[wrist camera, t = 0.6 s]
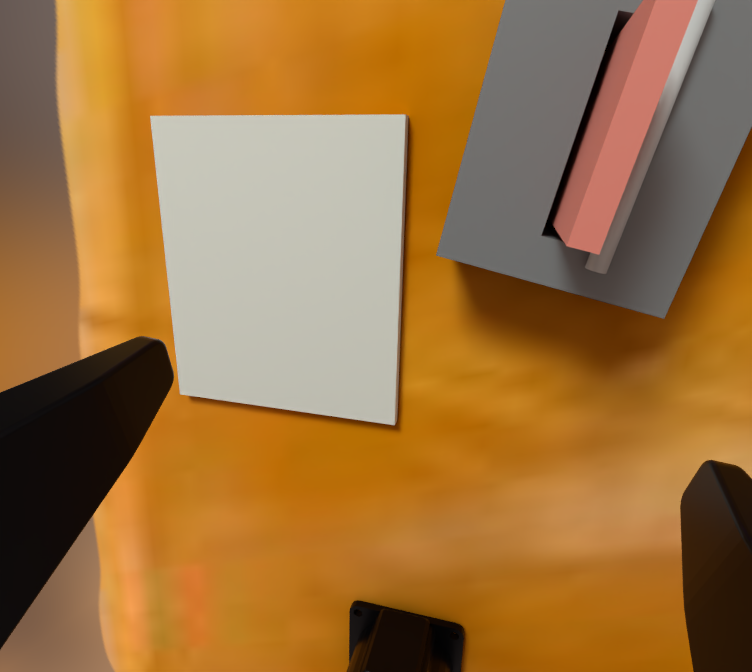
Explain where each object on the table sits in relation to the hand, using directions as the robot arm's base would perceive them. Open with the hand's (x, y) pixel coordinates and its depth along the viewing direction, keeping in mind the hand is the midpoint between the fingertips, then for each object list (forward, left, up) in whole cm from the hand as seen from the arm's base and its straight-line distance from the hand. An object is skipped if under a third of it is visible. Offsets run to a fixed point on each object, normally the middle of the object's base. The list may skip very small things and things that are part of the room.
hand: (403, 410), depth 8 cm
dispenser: (+5, -4, -15) cm, 16 cm away
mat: (-1, +9, -15) cm, 18 cm away
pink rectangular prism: (+5, -4, -15) cm, 16 cm away
